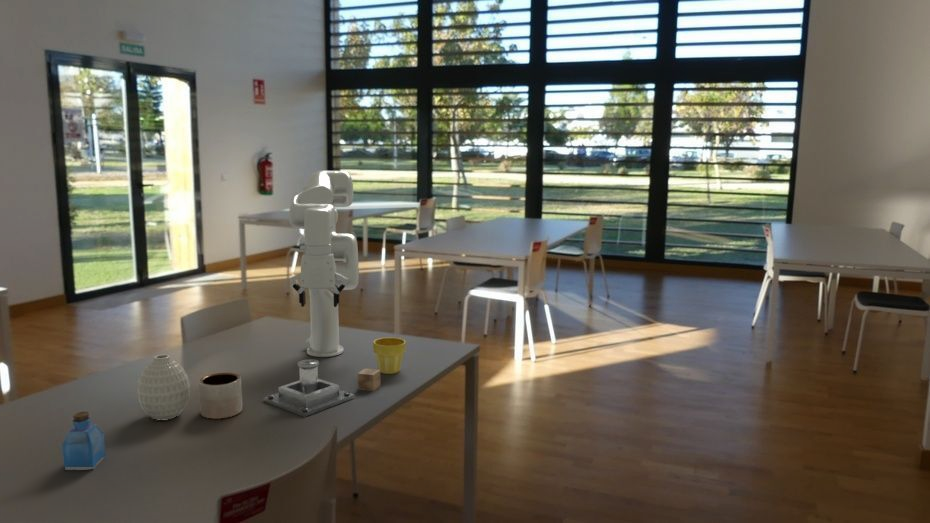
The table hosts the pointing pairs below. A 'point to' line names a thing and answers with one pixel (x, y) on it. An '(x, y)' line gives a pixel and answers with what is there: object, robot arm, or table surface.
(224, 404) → the planter
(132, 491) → the table surface
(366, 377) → the wooden cube
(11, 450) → the table surface
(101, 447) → the perfume bottle
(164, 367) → the vase
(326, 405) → the square metal socket
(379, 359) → the plant pot
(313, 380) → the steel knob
